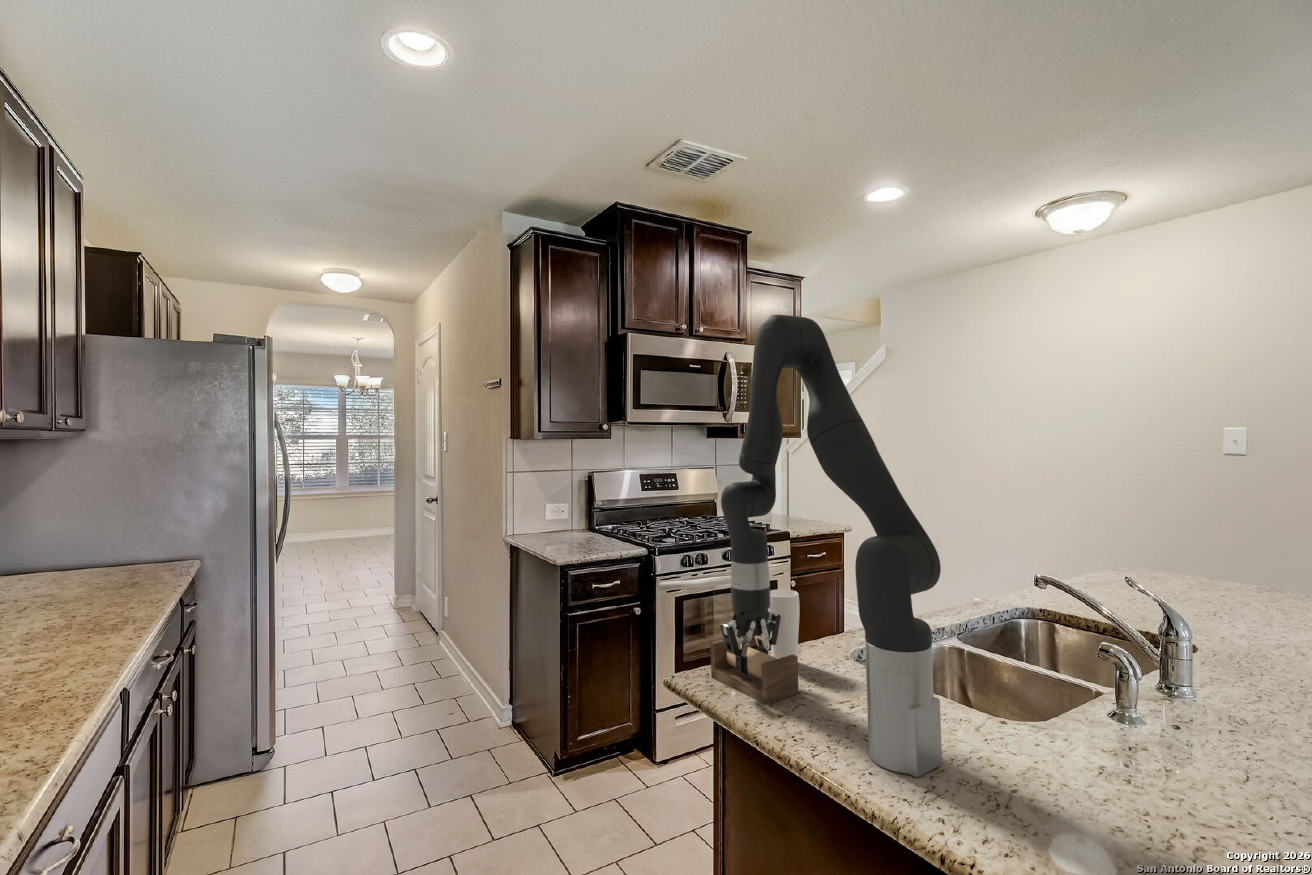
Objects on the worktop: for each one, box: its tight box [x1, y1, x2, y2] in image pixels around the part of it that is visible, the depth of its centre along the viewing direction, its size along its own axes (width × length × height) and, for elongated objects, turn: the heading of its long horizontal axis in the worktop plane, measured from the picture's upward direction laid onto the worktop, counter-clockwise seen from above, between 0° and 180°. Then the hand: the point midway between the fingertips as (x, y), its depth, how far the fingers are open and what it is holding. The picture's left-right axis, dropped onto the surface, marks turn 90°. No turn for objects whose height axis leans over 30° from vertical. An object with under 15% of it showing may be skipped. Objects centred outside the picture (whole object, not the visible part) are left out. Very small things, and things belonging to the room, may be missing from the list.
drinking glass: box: [768, 588, 801, 659], centre depth 130 cm, size 7×7×15 cm
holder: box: [709, 635, 800, 705], centre depth 119 cm, size 16×8×7 cm, turn 33°
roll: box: [726, 644, 776, 679], centre depth 119 cm, size 10×5×5 cm, turn 33°
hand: (752, 670), depth 119 cm, fingers closed on roll, 4 cm apart
